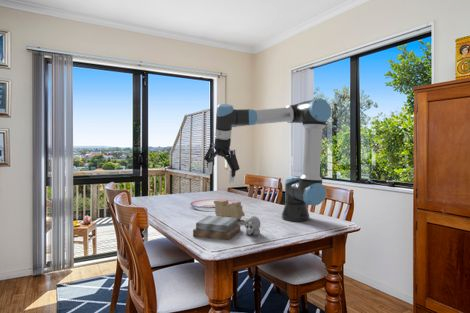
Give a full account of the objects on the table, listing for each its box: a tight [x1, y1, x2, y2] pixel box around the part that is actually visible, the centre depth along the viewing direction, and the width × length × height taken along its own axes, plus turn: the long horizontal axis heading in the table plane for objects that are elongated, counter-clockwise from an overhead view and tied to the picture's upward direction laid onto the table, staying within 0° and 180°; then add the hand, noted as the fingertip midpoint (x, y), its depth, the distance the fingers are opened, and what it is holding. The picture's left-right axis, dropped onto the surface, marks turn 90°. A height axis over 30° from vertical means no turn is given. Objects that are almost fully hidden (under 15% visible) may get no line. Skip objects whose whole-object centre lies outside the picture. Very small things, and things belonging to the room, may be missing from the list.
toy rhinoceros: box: [244, 215, 261, 237], centre depth 142 cm, size 7×12×8 cm, turn 163°
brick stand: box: [192, 215, 241, 241], centre depth 146 cm, size 17×17×6 cm
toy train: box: [213, 199, 246, 221], centre depth 173 cm, size 6×17×10 cm, turn 57°
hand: (220, 178), depth 156 cm, fingers open, 13 cm apart
